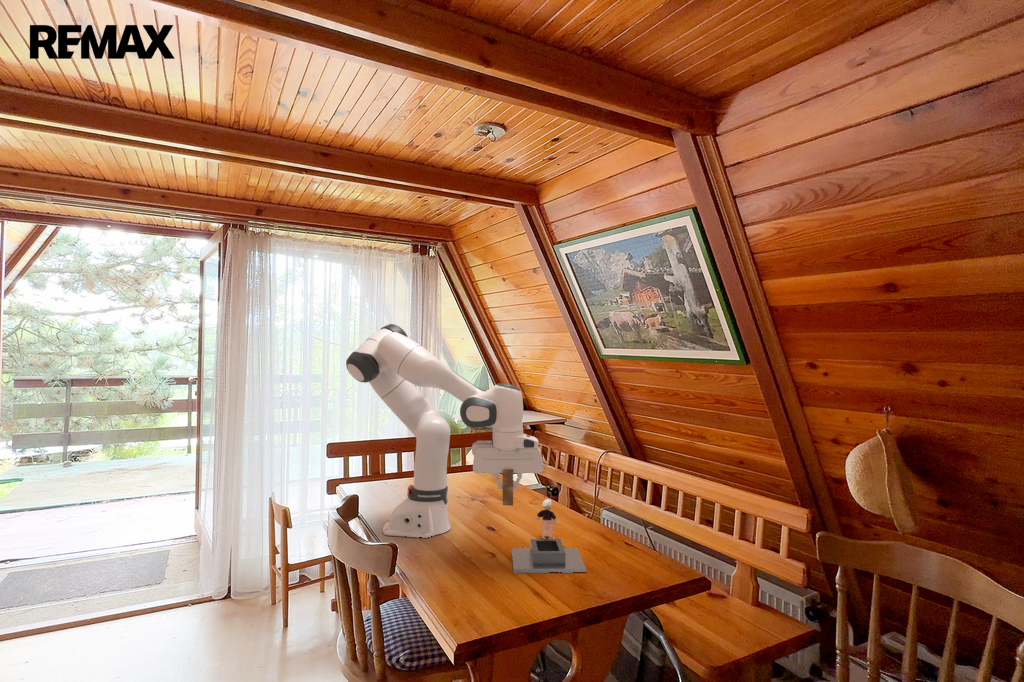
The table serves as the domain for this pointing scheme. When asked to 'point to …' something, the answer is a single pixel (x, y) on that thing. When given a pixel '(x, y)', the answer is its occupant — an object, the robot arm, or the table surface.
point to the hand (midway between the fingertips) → (507, 488)
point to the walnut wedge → (507, 486)
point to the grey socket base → (547, 558)
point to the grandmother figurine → (547, 519)
